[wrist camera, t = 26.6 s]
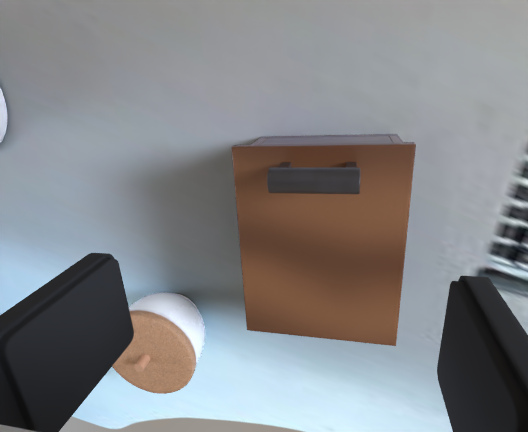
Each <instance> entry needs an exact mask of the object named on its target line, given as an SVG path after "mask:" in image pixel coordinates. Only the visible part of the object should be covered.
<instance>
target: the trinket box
mask: <svg viewBox="0 0 528 432" xmlns="http://www.w3.org/2000/svg"><path fill="white" fill-rule="evenodd" d="M129 311H130V316H131V320H132V324H133V329H134V336H133V340H132V342H131V343H130V345H129V346H128V347H127V348H126V350H125V351H124V352H123V353H122V354H121V356H120V357H119V358H118V359H117V361H116V362H115V363H114V364H113V368H114V369H115V370H116V372H118V373H119V374H120V375H121V376H122V377H123V378H124V379H125V380H126V381H128V382H129V383H131V384H133V385H134V386H136V387H138V388H140V389H143V390H146V391H149V392H153V393H171V392H175V391H178V390H180V389H181V388H183V387H184V386H186V385H187V384H188V382H189V381H190V379H191V377H192V375H193V373H194V371H195V368H196V366H197V363H198V361H199V359H200V357H201V354H202V351H203V347H204V342H205V326H204V322H203V319H202V316H201V314H200V312H199V310H198V308H197V307H196V305H195V304H194V303H193V302H192V301H191V300H190V299H188V298H187V297H185V296H183V295H180V294H176V293H169V292H159V293H153V294H150V295H147V296H144V297H142V298H140V299H139V300H137V301H136V302H134V303H133V304H132V305H130V306H129Z"/></svg>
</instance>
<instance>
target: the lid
mask: <svg viewBox="0 0 528 432" xmlns="http://www.w3.org/2000/svg"><path fill="white" fill-rule="evenodd" d="M415 147H416V145H415V143H414V142H399V143H331V144H264V145H234V146H232V158H233V170H234V181H235V193H236V205H237V216H238V228H239V240H240V251H241V263H242V275H243V287H244V298H245V310H246V322H247V330H251V331H261V332H270V333H280V334H289V335H298V336H308V337H317V338H327V339H336V340H345V341H355V342H364V343H374V344H383V345H392V346H396V338H397V328H398V318H399V308H400V298H401V288H402V278H403V268H404V258H405V248H406V238H407V228H408V217H409V207H410V197H411V187H412V177H413V167H414V157H415Z"/></svg>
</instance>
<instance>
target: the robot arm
mask: <svg viewBox="0 0 528 432" xmlns="http://www.w3.org/2000/svg"><path fill="white" fill-rule="evenodd" d="M6 128H7V108H6V102H5V99H4V96H3V93H2V90H1V88H0V143H1V142H2V140H3V138H4V135H5V133H6ZM133 336H134V329H133V324H132V320H131V316H130V311H129V307H128V302H127V298H126V294H125V289H124V285H123V281H122V276H121V272H120V267H119V263H118V261H117V260H116V259H114V257H113V256H112V255H111V254H103V253H90V254H88V255H87V256H85V257H84V258H83V259H81V260H80V261H78V262H77V263H75V264H74V265H72V266H71V267H70V268H68V269H67V270H65V271H64V272H62V273H61V274H59V275H58V276H57V277H55V278H54V279H52V280H51V281H49V282H48V283H46V284H45V285H44V286H42V287H41V288H39V289H38V290H36V291H35V292H33V293H32V294H30V295H29V296H28V297H26V298H25V299H23V300H22V301H20V302H19V303H17V304H16V305H15V306H13V307H12V308H10V309H9V310H7V311H6V312H4V313H3V314H2V315H0V432H59V431H60V429H61V428H62V427H63V426H64V424H65V423H66V422H67V421H68V420H69V418H70V417H71V416H72V415H73V413H74V412H75V411H76V410H77V409H78V407H79V406H80V405H81V404H82V402H83V401H84V400H85V399H86V397H87V396H88V395H89V394H90V393H91V391H92V390H93V389H94V388H95V386H96V385H97V384H98V383H99V381H100V380H101V379H102V378H103V377H104V375H105V374H106V373H107V372H108V370H109V369H110V368H111V367H112V366H113V364H114V363H115V362H116V361H117V359H118V358H119V357H120V356H121V354H122V353H123V352H124V351H125V350H126V348H127V347H128V346H129V345H130V343H131V342H132V340H133ZM437 373H438V381H439V384H440V388H441V391H442V395H443V398H444V402H445V405H446V409H447V412H448V416H449V419H450V423H451V426H452V430H453V432H528V335H527V333H526V332H525V331H524V329H523V328H522V326H521V325H520V323H519V322H518V320H517V319H516V317H515V316H514V314H513V313H512V311H511V310H510V308H509V307H508V305H507V304H506V302H505V301H504V300H503V298H502V297H501V295H500V294H499V292H498V291H497V289H496V288H495V286H494V285H493V283H492V282H491V280H490V279H489V278H487V277H473V276H461V277H460V279H459V281H452V282H451V284H450V290H449V296H448V302H447V309H446V315H445V321H444V328H443V334H442V340H441V347H440V353H439V360H438V367H437Z"/></svg>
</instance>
